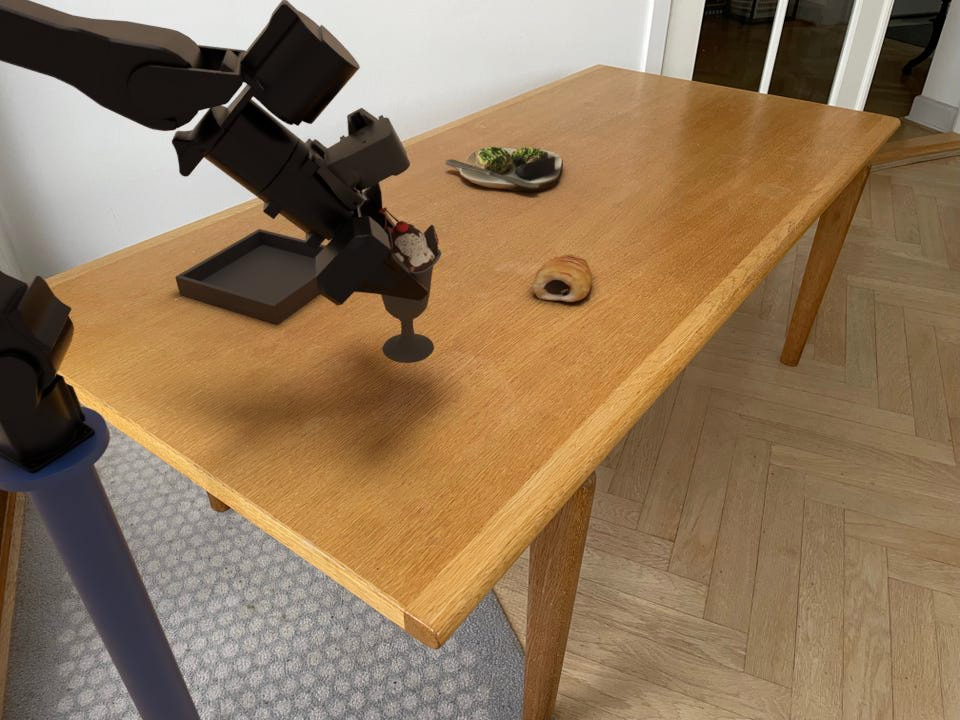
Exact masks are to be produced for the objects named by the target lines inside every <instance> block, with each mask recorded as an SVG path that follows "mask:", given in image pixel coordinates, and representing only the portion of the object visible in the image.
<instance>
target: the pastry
mask: <svg viewBox="0 0 960 720" xmlns="http://www.w3.org/2000/svg"><path fill="white" fill-rule="evenodd" d="M592 281H593V274H592V271H591V268H590V265H589V263H588V262H587V260H586V259H585V258H582V257H578V256H576V255H574V254H563V255H560V256H554V257H553V258H550V259H549V260H547V261H546V262H544V264H543V265H542V267H541V268H539V269H538V270H537V271H536V274H535V280H534V284H533V285H532V287H531V289H532V291H533V293H534V294H535V296H536V297H537V298H538V299H540V300H546V301H560V302H566V303H574V302H580V301H581V300H583V299H584V298H586V297H587V296H588V294H589V292H590V290H591V285H592Z"/></svg>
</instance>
